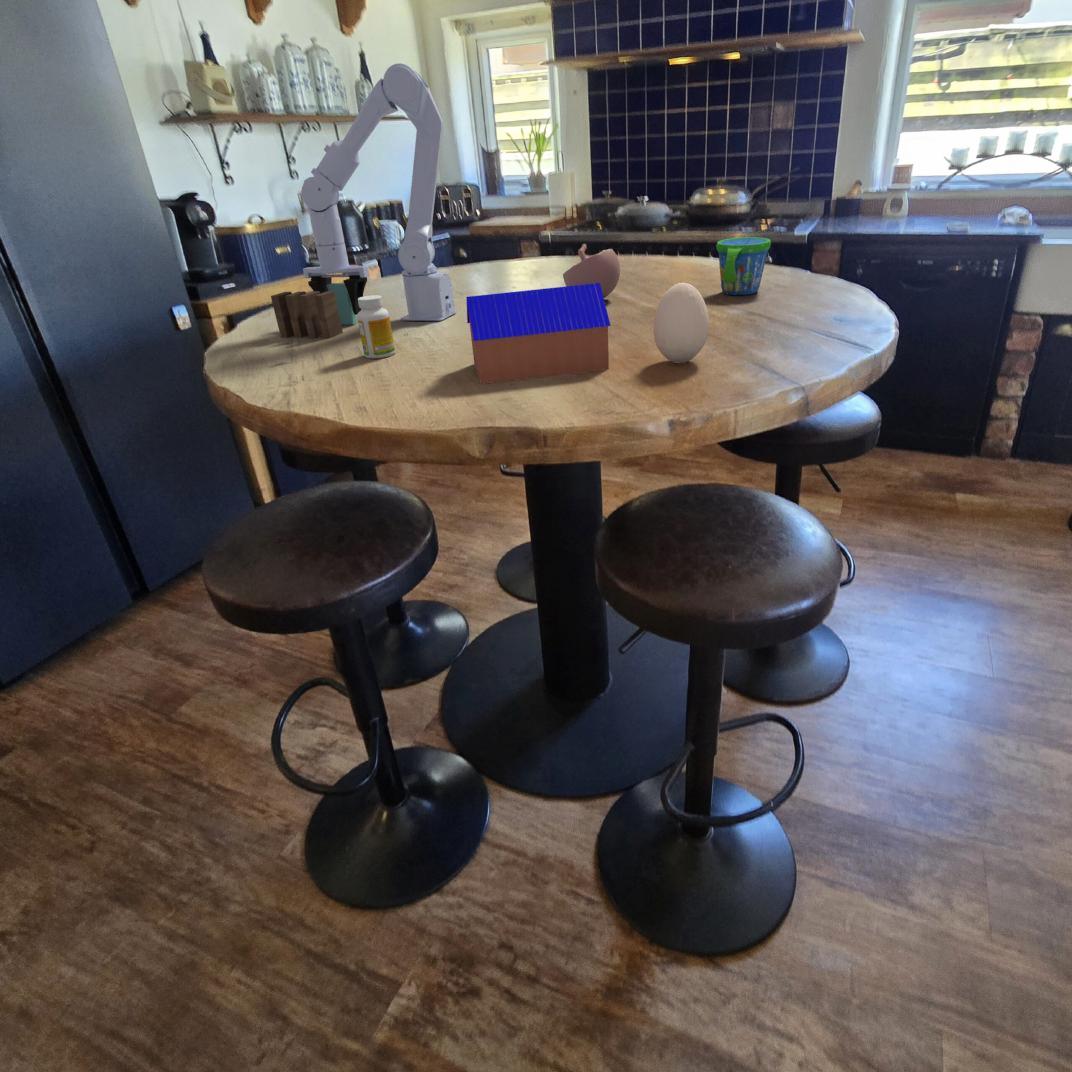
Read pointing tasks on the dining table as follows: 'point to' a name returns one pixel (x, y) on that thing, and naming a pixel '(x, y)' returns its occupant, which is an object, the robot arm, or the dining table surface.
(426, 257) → the robot arm
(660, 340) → the egg
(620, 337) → the dining table surface
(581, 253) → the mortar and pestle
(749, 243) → the snack cup
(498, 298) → the house
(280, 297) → the tile
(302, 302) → the tile
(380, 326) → the supplement bottle
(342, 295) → the teal tile
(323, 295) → the tile
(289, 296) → the tile
